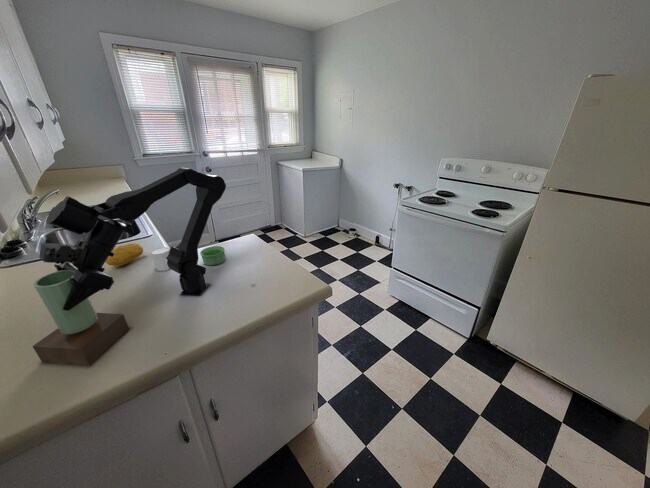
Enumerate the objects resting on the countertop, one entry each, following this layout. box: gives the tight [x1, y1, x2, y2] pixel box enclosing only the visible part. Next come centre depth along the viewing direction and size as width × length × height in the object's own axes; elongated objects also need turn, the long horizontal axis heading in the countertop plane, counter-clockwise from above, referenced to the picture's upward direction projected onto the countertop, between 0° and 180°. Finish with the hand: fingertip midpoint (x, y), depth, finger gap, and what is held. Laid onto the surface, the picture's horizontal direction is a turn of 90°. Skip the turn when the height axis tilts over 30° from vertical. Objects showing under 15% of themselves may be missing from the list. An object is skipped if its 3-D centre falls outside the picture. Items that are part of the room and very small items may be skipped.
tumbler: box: [33, 270, 98, 334], centre depth 62 cm, size 7×7×13 cm
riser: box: [32, 312, 130, 366], centre depth 66 cm, size 12×12×5 cm
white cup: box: [149, 246, 171, 272], centre depth 101 cm, size 7×7×7 cm
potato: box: [105, 242, 144, 267], centre depth 105 cm, size 8×14×7 cm, turn 158°
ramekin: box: [199, 245, 226, 266], centre depth 106 cm, size 9×9×4 cm
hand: (60, 304), depth 61 cm, fingers closed on tumbler, 7 cm apart
